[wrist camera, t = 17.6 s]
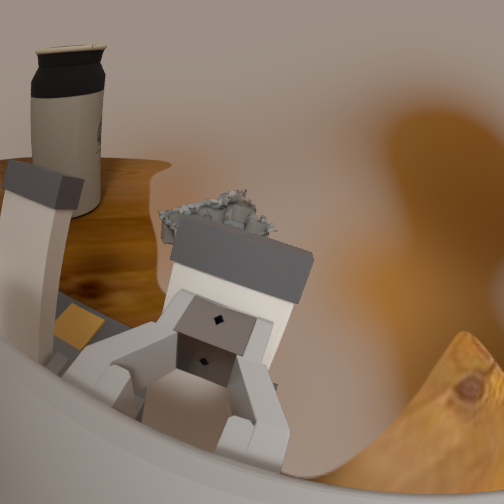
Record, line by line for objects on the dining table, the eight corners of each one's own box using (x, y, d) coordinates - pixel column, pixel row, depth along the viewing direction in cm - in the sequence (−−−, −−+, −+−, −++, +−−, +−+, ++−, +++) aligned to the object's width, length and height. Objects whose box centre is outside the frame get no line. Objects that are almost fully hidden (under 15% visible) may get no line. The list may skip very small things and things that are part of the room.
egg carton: (241, 218, 38) (248, 187, 35) (276, 257, 33) (287, 223, 31) (153, 229, 32) (156, 194, 30) (178, 276, 27) (182, 237, 25)
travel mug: (29, 221, 28) (21, 52, 18) (48, 188, 34) (48, 47, 24) (95, 221, 31) (101, 45, 20) (105, 187, 37) (114, 44, 26)
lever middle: (37, 393, 12) (62, 175, 11) (-10, 355, 13) (8, 159, 11) (55, 381, 14) (84, 179, 12) (8, 347, 14) (30, 163, 13)
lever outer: (220, 486, 11) (313, 260, 9) (133, 451, 12) (180, 216, 10) (227, 464, 13) (311, 252, 11) (147, 432, 13) (197, 214, 11)
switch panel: (203, 591, 8) (214, 608, 5) (-101, 355, 11) (-130, 311, 8) (271, 395, 20) (295, 352, 17) (-7, 261, 22) (-20, 215, 19)
